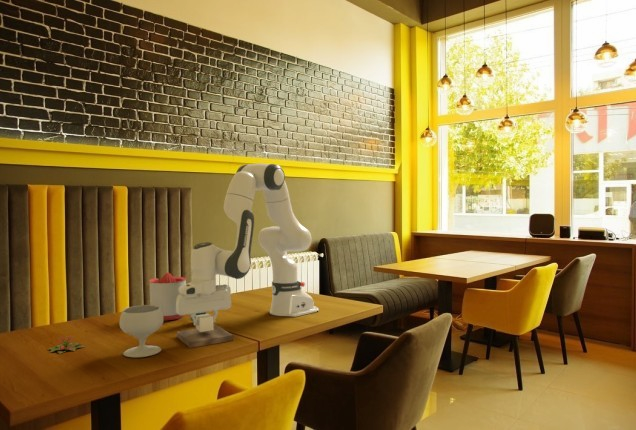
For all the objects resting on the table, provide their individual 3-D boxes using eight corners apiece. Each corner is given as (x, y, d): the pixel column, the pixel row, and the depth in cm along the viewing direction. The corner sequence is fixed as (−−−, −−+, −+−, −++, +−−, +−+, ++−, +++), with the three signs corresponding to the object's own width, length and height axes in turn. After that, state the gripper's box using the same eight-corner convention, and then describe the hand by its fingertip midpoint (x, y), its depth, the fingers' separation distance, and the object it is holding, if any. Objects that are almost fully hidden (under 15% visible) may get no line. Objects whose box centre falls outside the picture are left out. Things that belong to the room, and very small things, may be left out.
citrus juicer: (179, 311, 223) (178, 268, 222) (192, 319, 209) (191, 273, 208) (144, 316, 214) (143, 271, 214) (155, 324, 200) (154, 276, 199)
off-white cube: (209, 326, 182) (208, 313, 182) (213, 329, 178) (213, 316, 178) (196, 328, 180) (195, 315, 180) (200, 332, 176) (200, 318, 175)
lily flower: (73, 342, 177) (73, 330, 177) (92, 348, 170) (91, 335, 170) (39, 351, 167) (39, 338, 167) (57, 357, 160) (57, 344, 160)
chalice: (158, 343, 173) (157, 302, 173) (169, 354, 161) (168, 310, 161) (116, 350, 166) (115, 307, 165) (124, 362, 154) (123, 315, 153)
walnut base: (217, 330, 190) (217, 325, 190) (233, 340, 177) (232, 335, 176) (177, 336, 182) (176, 331, 182) (189, 348, 168) (189, 342, 168)
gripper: (227, 282, 187) (227, 318, 187) (174, 288, 176) (174, 325, 176) (233, 285, 181) (234, 321, 182) (178, 291, 170) (179, 329, 171)
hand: (204, 323), depth 179 cm, fingers closed on off-white cube, 5 cm apart
